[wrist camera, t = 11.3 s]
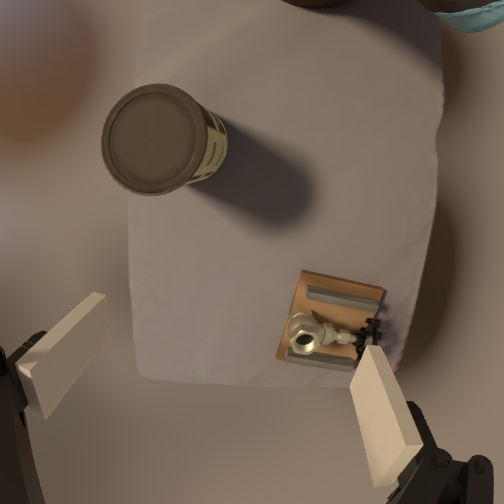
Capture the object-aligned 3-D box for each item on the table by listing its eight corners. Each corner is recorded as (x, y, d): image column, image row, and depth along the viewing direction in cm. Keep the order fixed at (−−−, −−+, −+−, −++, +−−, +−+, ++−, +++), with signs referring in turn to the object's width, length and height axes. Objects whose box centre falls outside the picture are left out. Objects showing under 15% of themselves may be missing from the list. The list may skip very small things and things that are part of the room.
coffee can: (147, 115, 39) (95, 99, 25) (222, 99, 38) (199, 72, 24) (157, 189, 42) (108, 204, 28) (233, 177, 41) (214, 186, 27)
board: (301, 269, 44) (304, 279, 40) (381, 287, 44) (389, 297, 40) (276, 354, 48) (276, 368, 44) (349, 366, 48) (354, 380, 44)
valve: (280, 335, 45) (358, 348, 45) (281, 362, 39) (368, 374, 39) (292, 294, 43) (373, 309, 43) (295, 316, 37) (387, 332, 37)
